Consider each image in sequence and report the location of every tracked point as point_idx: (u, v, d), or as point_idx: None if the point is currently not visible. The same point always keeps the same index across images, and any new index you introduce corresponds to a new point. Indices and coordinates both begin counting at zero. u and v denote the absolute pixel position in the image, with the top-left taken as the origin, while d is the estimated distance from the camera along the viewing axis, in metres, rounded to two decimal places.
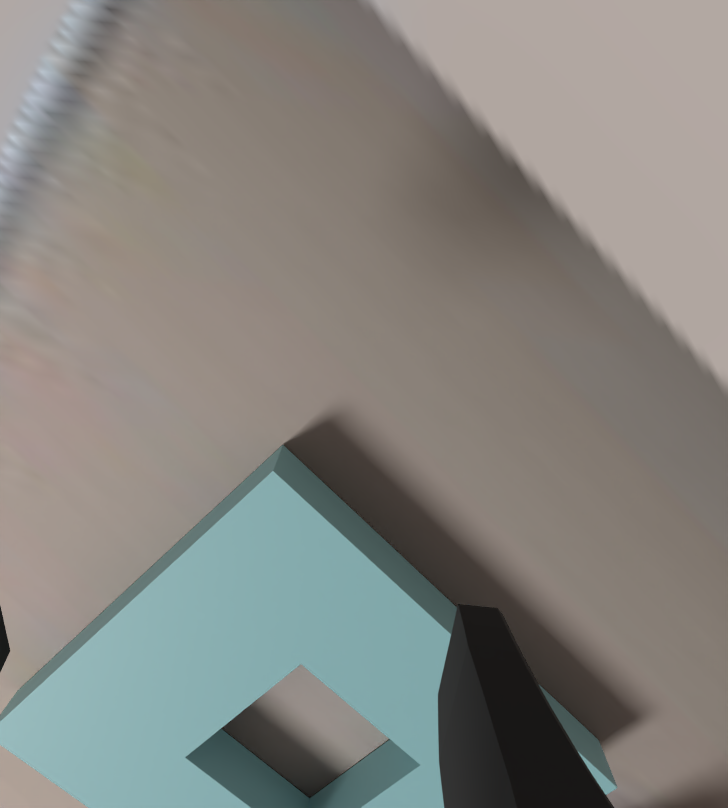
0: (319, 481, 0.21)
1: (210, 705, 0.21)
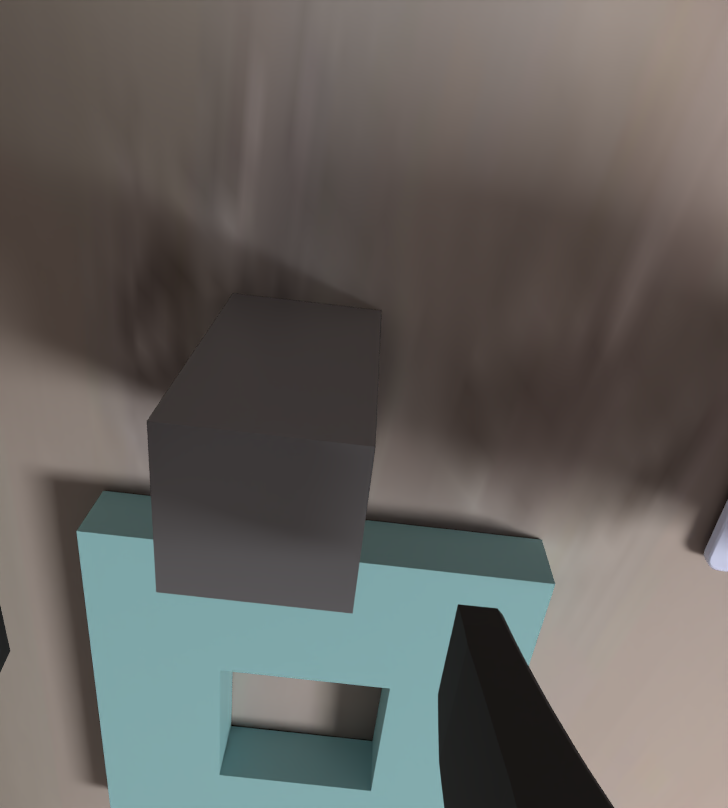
0: None
1: (308, 798, 0.25)
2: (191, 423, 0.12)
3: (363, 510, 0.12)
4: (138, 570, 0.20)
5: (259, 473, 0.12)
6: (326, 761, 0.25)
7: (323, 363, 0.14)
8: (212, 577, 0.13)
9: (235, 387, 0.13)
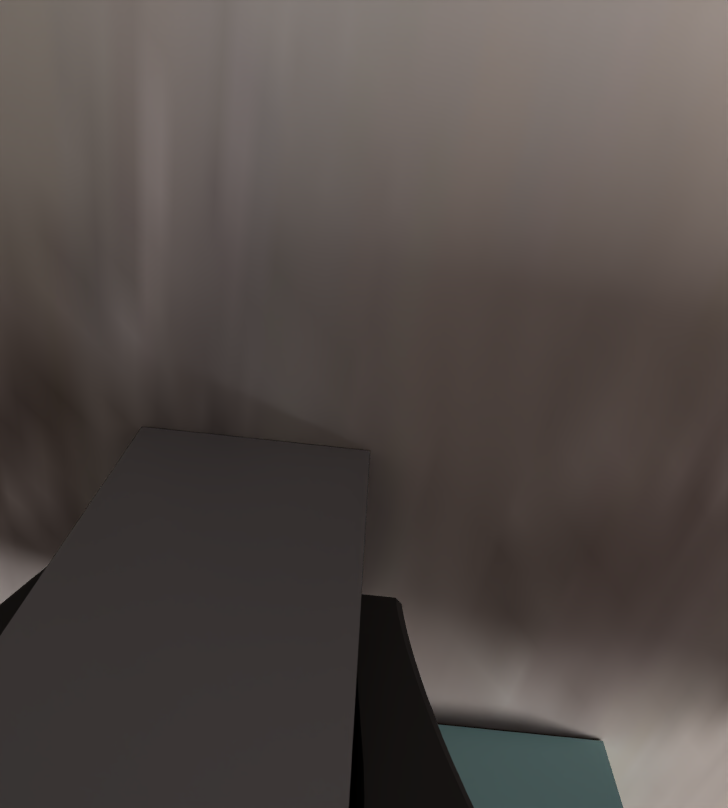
0: None
1: None
2: None
3: None
4: None
5: None
6: None
7: (262, 604, 0.08)
8: None
9: (81, 699, 0.07)
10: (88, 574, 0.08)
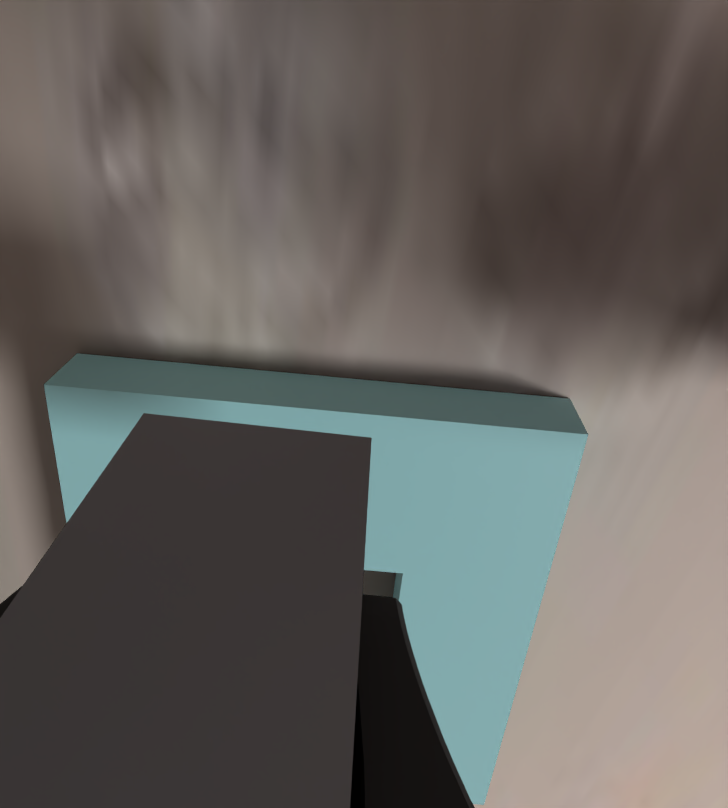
0: None
1: None
2: None
3: None
4: (116, 432, 0.17)
5: None
6: None
7: (264, 585, 0.08)
8: None
9: (85, 675, 0.07)
10: (91, 554, 0.08)
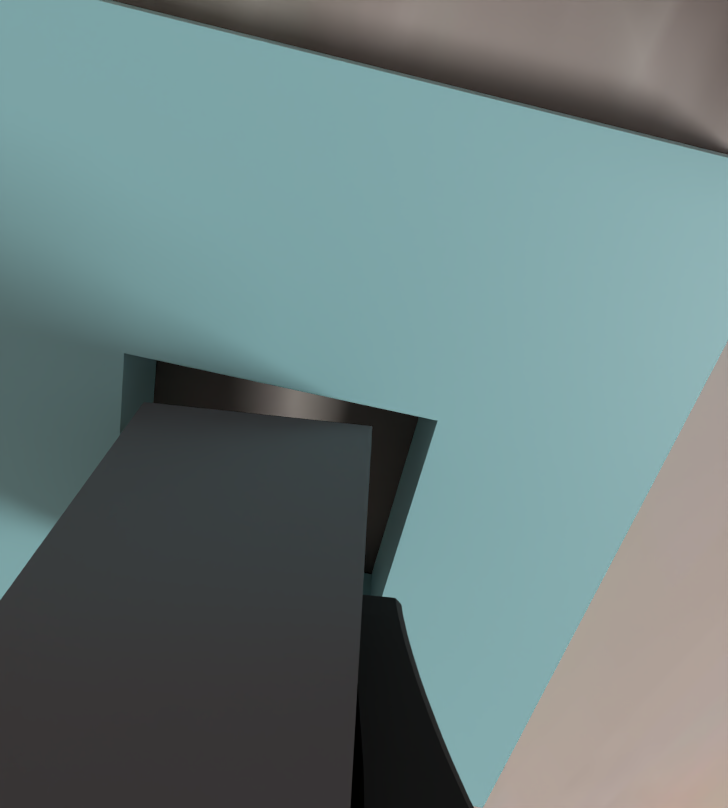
0: None
1: None
2: None
3: None
4: None
5: None
6: None
7: (265, 569, 0.08)
8: None
9: (84, 656, 0.07)
10: (90, 539, 0.08)
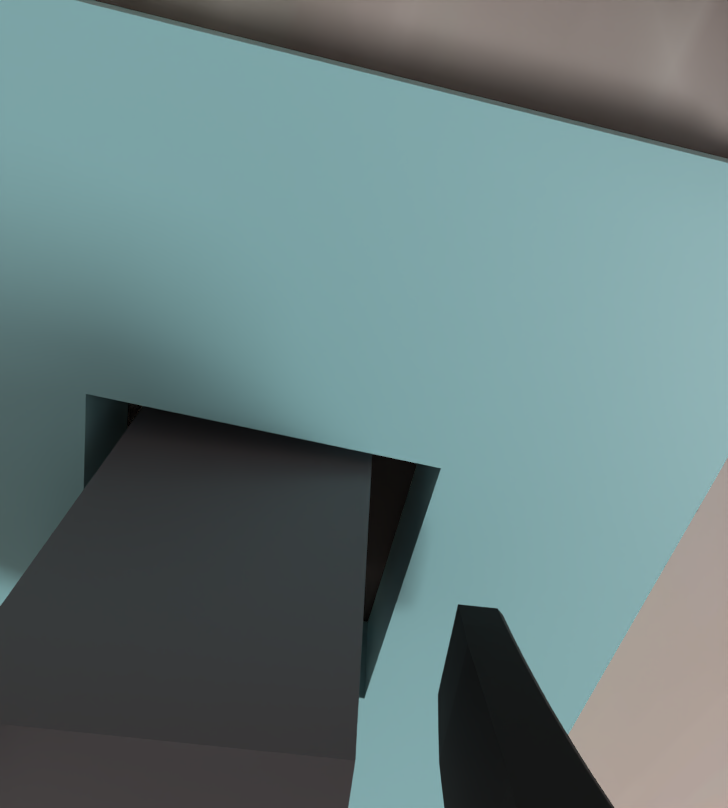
0: None
1: None
2: (9, 714, 0.06)
3: None
4: None
5: (143, 792, 0.06)
6: None
7: (277, 528, 0.09)
8: None
9: (117, 598, 0.08)
10: (118, 501, 0.09)
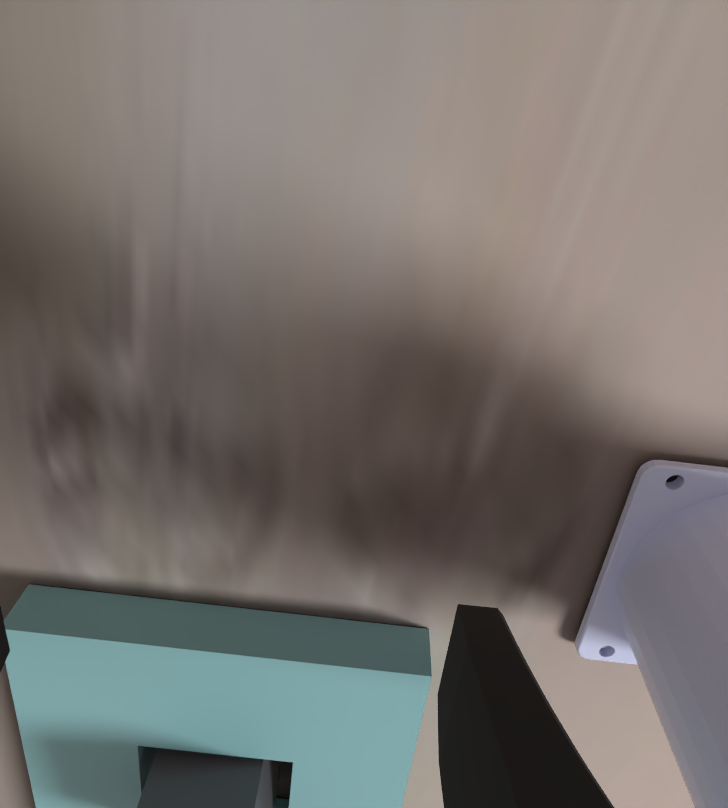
0: None
1: None
2: None
3: None
4: (56, 661, 0.22)
5: None
6: None
7: None
8: None
9: None
10: (154, 802, 0.23)
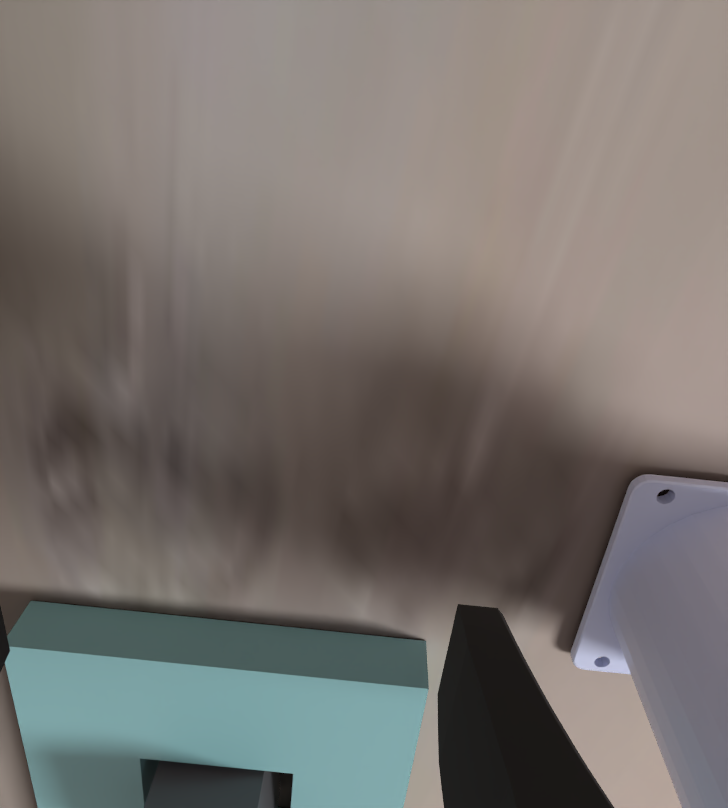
0: None
1: None
2: None
3: None
4: (58, 677, 0.22)
5: None
6: None
7: None
8: None
9: None
10: None
